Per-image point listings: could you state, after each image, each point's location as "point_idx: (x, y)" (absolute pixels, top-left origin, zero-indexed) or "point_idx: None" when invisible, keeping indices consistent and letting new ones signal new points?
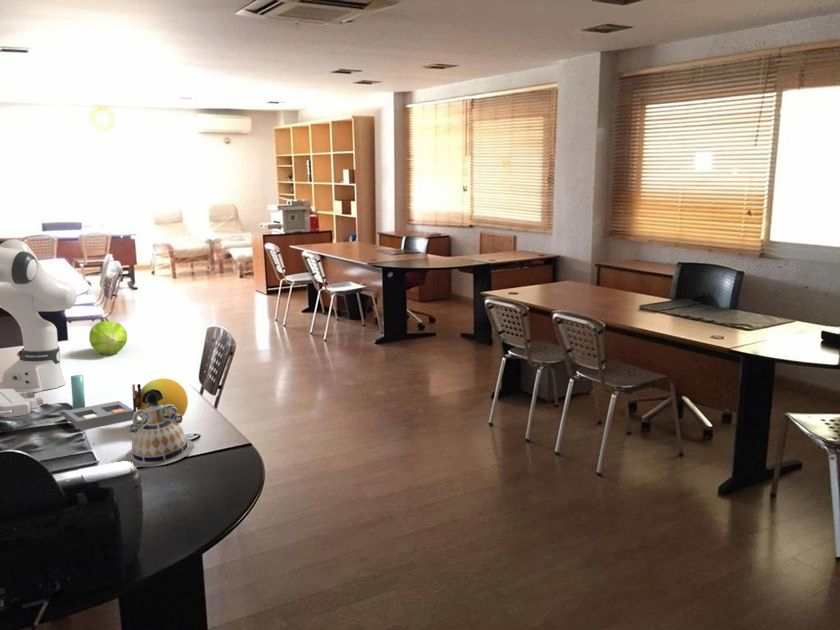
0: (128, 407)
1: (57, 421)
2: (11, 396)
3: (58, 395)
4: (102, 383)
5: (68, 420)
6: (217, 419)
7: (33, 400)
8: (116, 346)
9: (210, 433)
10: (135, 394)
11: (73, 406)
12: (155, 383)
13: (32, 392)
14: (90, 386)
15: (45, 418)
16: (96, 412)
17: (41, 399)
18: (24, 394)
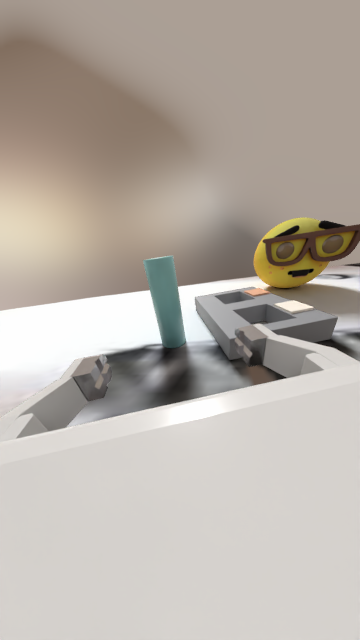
0: (235, 290)
1: (235, 372)
2: (191, 585)
3: (18, 370)
4: (51, 326)
5: None
6: None
7: (296, 343)
8: None
9: None
10: (294, 245)
11: (174, 334)
12: (311, 218)
13: (97, 357)
14: (44, 335)
15: None
16: (256, 305)
17: (261, 325)
18: (58, 402)
